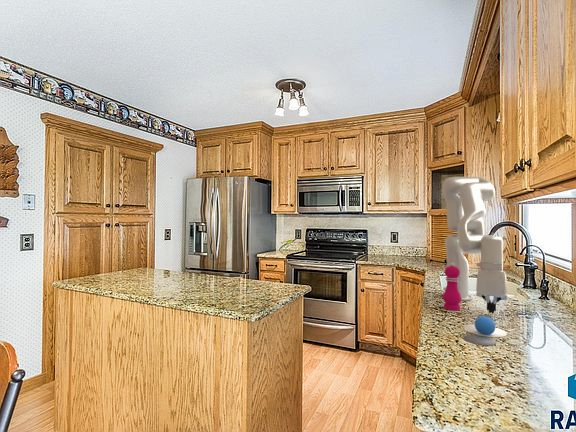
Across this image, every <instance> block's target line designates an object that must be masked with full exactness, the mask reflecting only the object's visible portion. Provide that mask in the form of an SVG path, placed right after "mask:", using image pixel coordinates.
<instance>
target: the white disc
mask: <svg viewBox="0 0 576 432" xmlns="http://www.w3.org/2000/svg"><path fill="white" fill-rule="evenodd" d="M462 329H463V330H464V331H466V332H468V333H470V334H472V335H479V336H484V337H488V338H504V337H507V334H508V333H507V332H506V331H505V330H503V329H501V328H498V327H495V331H494V332H493V333H492V334H490V335H483V334H481V333H479V332H478V331H477V330H476V328H475V323H469V324H465V325H463V326H462Z"/></svg>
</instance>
